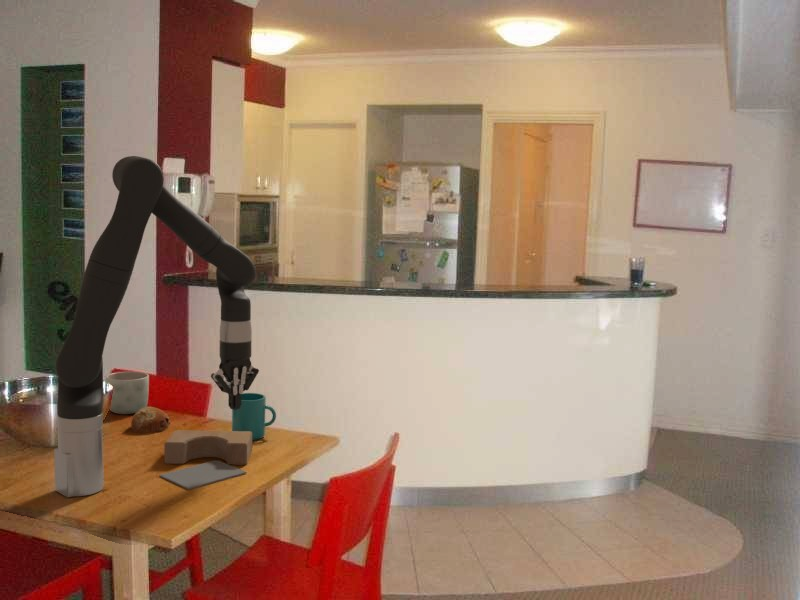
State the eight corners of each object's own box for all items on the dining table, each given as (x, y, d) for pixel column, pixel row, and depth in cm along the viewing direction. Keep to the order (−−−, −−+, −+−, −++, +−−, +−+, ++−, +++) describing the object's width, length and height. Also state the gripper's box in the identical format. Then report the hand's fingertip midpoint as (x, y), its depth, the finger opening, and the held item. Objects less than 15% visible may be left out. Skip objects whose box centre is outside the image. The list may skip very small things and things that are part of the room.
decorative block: (246, 443, 198) (163, 442, 197) (246, 466, 199) (164, 465, 198) (252, 430, 209) (174, 429, 208) (252, 451, 210) (174, 450, 209)
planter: (156, 407, 250) (156, 373, 248) (136, 418, 237) (136, 381, 236) (119, 404, 252) (119, 370, 250) (97, 414, 240) (97, 378, 238)
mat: (188, 489, 181) (188, 488, 181) (159, 476, 189) (159, 474, 189) (246, 473, 193) (246, 471, 193) (216, 461, 201) (216, 460, 201)
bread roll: (142, 435, 233) (130, 411, 232) (175, 420, 233) (163, 396, 232) (135, 446, 223) (122, 420, 222) (169, 430, 224) (156, 405, 222)
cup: (274, 441, 219) (275, 401, 218) (229, 441, 218) (229, 400, 217) (277, 432, 228) (277, 393, 227) (234, 431, 227) (234, 392, 226)
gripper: (221, 343, 186) (221, 416, 189) (267, 337, 196) (266, 407, 198) (203, 339, 191) (202, 410, 193) (248, 333, 201) (247, 401, 203)
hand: (235, 408), depth 196 cm, fingers closed
